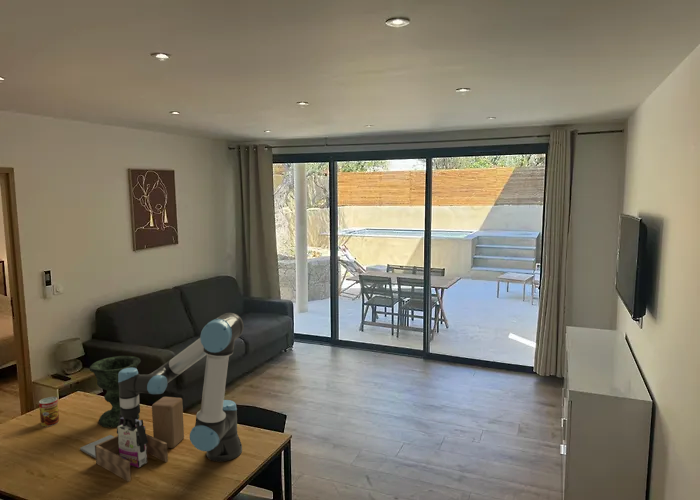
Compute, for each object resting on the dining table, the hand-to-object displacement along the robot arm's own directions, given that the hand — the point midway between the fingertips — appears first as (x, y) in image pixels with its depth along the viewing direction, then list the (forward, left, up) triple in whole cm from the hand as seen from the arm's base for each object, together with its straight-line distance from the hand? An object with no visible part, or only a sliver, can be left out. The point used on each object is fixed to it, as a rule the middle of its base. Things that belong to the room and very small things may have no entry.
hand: (133, 454), depth 205 cm
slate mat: (+23, 0, -4) cm, 23 cm away
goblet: (+43, -19, -4) cm, 47 cm away
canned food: (+69, +2, -4) cm, 69 cm away
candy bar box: (0, 0, -4) cm, 4 cm away
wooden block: (+2, -19, -4) cm, 20 cm away
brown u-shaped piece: (0, 0, -4) cm, 4 cm away
